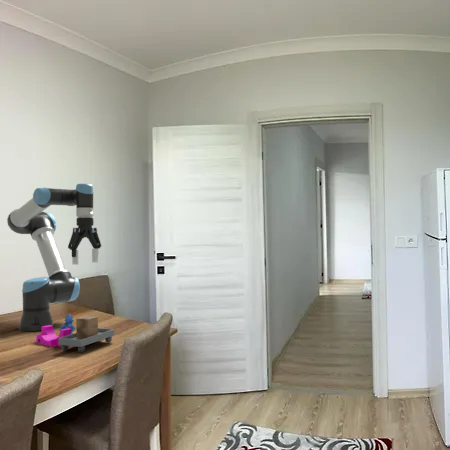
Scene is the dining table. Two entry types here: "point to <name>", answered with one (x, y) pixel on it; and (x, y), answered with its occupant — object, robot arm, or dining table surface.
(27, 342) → the dining table surface
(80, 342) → the cart
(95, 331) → the walnut block
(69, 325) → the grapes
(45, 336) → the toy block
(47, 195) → the robot arm
